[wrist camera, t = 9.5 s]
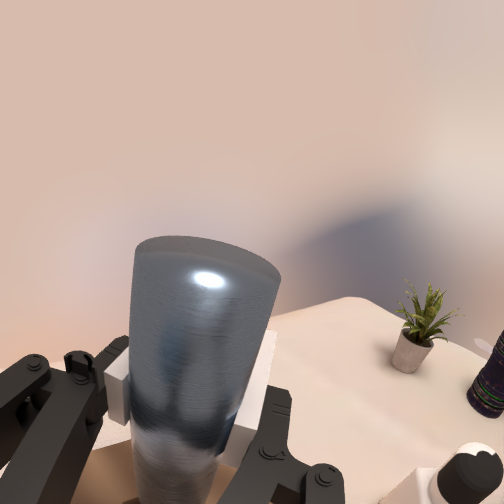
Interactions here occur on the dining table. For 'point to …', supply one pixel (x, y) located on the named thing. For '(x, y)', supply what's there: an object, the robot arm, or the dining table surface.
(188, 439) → the pin
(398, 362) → the house plant
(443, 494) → the medicine bottle
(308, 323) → the dining table surface
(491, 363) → the storage jar
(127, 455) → the socket block
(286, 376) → the dining table surface
